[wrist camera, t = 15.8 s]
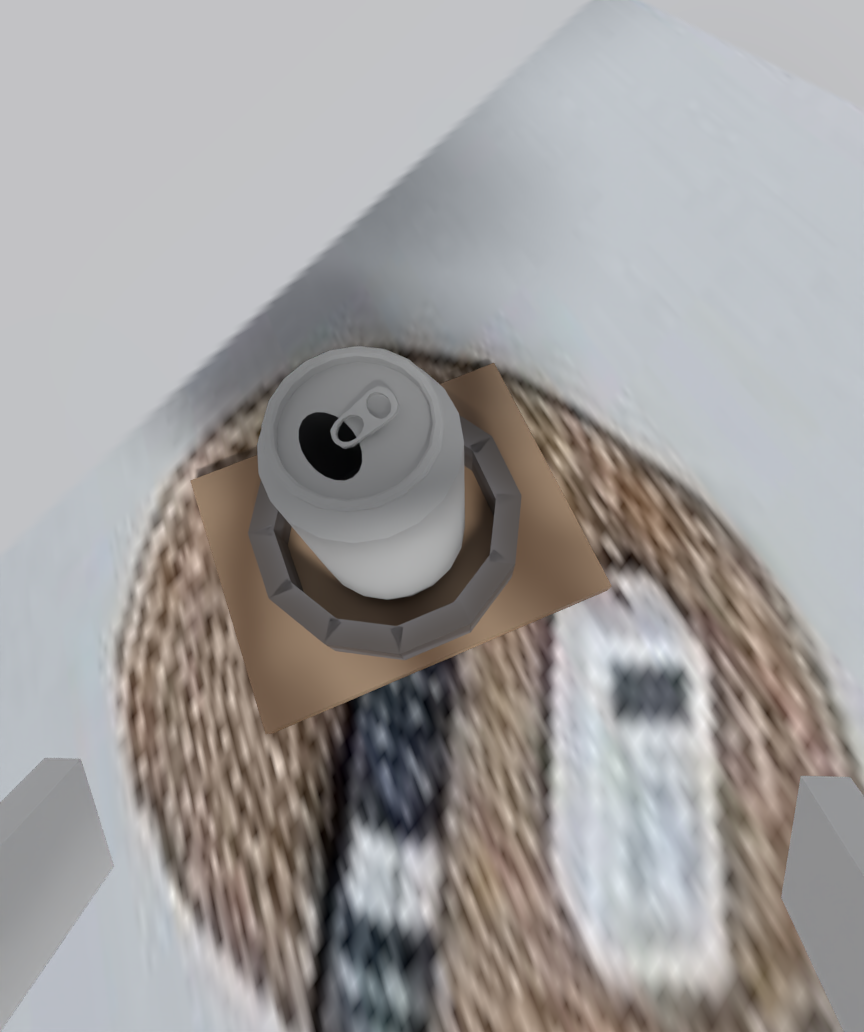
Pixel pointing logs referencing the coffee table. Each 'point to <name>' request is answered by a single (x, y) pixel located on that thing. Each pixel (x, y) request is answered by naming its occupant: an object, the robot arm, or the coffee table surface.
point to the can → (367, 469)
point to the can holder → (409, 620)
